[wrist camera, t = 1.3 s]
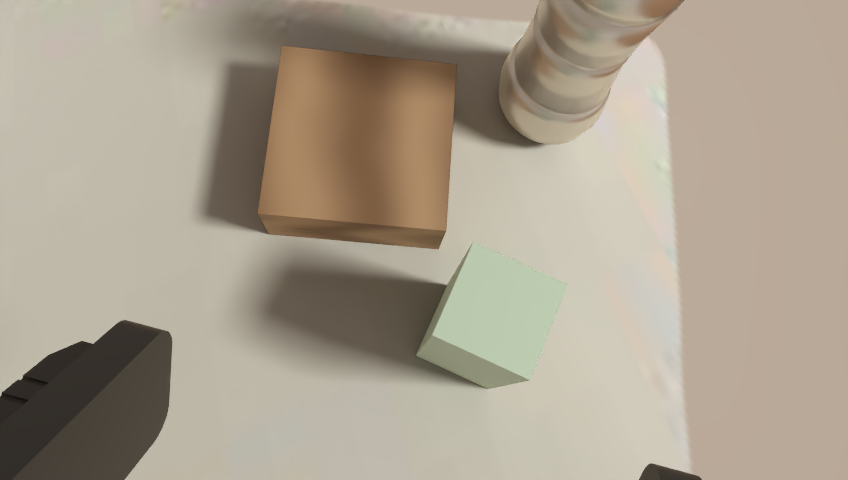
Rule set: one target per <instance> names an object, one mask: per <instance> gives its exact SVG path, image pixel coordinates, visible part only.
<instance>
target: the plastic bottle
mask: <svg viewBox="0 0 848 480" xmlns="http://www.w3.org/2000/svg"><path fill="white" fill-rule="evenodd" d="M683 1H684V0H540V1H539V4H538V7H537V11H536V14H535V16H534V18H533V19H532V21H531V23H530V25H529V27H528V28H527V30H526V32H525V34H524V35H523V37H522V38H521V39H520V40H519V41H518V43H517V44H516V45H515V46H514V48H513V49H512V51H511V52H510V54H509V55H508V57H507V59H506V60H505V62H504V64H503V66H502V70H501V73H500V83H499V100H500V105H501V108H502V111H503V113H504V115H505V117H506V119H507V120H508V122H509V123H510V124H511V125H512V126H513V128H514V129H516V130H517V131H518V132H519V133H520V134H521V135H523V136H525V137H527V138H528V139H530V140H533V141H536V142H538V143H543V144H562V143H566V142H569V141H571V140H573V139H575V138H577V137H578V136H580V135H581V134H582V133H584V132H585V131H587V130H588V129H589V128H591V127H592V126H593V125H594V123H595V122H596V121H597V120H598V119H599V117H600V115H601V113H602V111H603V109H604V106H605V104H606V102H607V100H608V96H609V93H610V89H611V86H612V84H613V83H614V81H615V79H616V77H617V75H618V73H619V71H620V69H621V68H622V66H623V64H624V63H625V62H626V60H627V59H628V58H629V57H630V56H631V54H632V53H633V52H634V51H635V50H636V48H637V47H638V46H639V45H640V44H641V42H642V41H643V40H644V39H645V38H646V37H647V36H648V35H649V34H650V33H651V32H653V31H654V30H655V29H656V28H657V27H658V26H659V25H660V24H661V23H662V22H663V21H664V20H666V19H667V18H668V17H669V16H670V15H671V14H672V13H673V12H674V11H675V10H676V9H677V8H678V7H679V6H680V5H681V4H682V3H683Z"/></svg>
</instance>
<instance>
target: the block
mask: <svg viewBox="0 0 848 480" xmlns="http://www.w3.org/2000/svg"><path fill="white" fill-rule="evenodd" d="M566 287H567V284H566V283H564V282H562V281H560V280H557V279H555V278H553V277H551V276H549V275H546V274H544V273H542V272H540V271H537V270H535V269H533V268H531V267H529V266H526V265H524V264H522V263H520V262H518V261H515V260H513V259H511V258H509V257H507V256H504V255H502V254H500V253H498V252H496V251H493V250H491V249H489V248H487V247H484V246H482V245H480V244H478V243H476V242H473V243H472V245H471V246H470V248H469V250H468V251H467V253H466V255H465V256H464V258H463V260H462V261H461V263H460V265H459V266H458V268H457V270H456V271H455V273H454V275H453V276H452V278H451V279H450V281H449V283H448V284H447V286H446V289H445V291H444V293H443V295H442V298H441V300H440V302H439V304H438V307H437V309H436V311H435V313H434V316H433V318H432V320H431V322H430V325H429V327H428V329H427V331H426V334H425V336H424V338H423V340H422V343H421V345H420V347H419V349H418V352H417V354H416V356H417V357H420V358H422V359H424V360H426V361H428V362H431V363H433V364H435V365H437V366H439V367H441V368H444V369H446V370H448V371H450V372H452V373H454V374H457V375H459V376H461V377H463V378H465V379H467V380H470V381H472V382H474V383H476V384H478V385H480V386H483V387H485V388H487V389H490V388H495V387H500V386H505V385H509V384H514V383H519V382H524V381H528V380H530V379H531V377H532V374H533V372H534V369H535V367H536V364H537V361H538V359H539V356H540V354H541V351H542V349H543V346H544V343H545V341H546V338H547V336H548V333H549V331H550V328H551V325H552V323H553V320H554V318H555V315H556V313H557V310H558V307H559V305H560V302H561V300H562V297H563V295H564V292H565V289H566Z"/></svg>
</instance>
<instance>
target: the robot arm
mask: <svg viewBox="0 0 848 480" xmlns="http://www.w3.org/2000/svg"><path fill="white" fill-rule="evenodd" d="M171 355H172V337H171V334H170V333H169V332H168V331H164V330H161V329H157V328H153V327H149V326H146V325H142V324H138V323H135V322H131V321H127V320H123V321H120V322H119V323H117V324H116V325H115V326H114V327H112V328H111V329H110V330H109V331H108V332H107V333H105V334H104V335H103V336H102V337H101V338H100V339H99V340H97V341H96V342H95V343H94V344H91V343H87V342H84V341H81V342H78V343H76V344H74V345H71V346H69V347H67V348H64V349H62V350H59V351H57V352H55V353H52V354H50V355H48V356H47V357H46V358H44V359H43V360H42V361H41V362H39V363H38V364H37V365H36V366H34V367H33V368H32V369H31V370H29V371H28V372H27V373H26V374H24V375H23V378H22V380H17V381H16V382H15V383H13V384H12V385H11V386H10V387H8V388H7V389H6V390H5V391H3V392H2V395H1V397H0V480H124V479H125V478H126V477H127V476H128V474H129V473H130V472H131V471H132V469H133V468H134V467H135V466H136V464H137V463H138V462H139V460H140V459H141V458H142V457H143V455H144V454H145V453H146V452H147V450H148V449H149V448H150V447H151V445H152V444H153V443H154V441H155V440H156V438H157V437H158V435H159V433H160V431H161V429H162V427H163V424H164V422H165V419H166V416H167V412H168V407H169V394H170V374H171ZM639 480H702V479H701V478H700V477H698V476H696V475H693V474H689V473H685V472H682V471H678V470H674V469H670V468H667V467H663V466H659V465H656V464H649V465H647V466H646V468H645V469H644V471H643V473H642V475H641V477H640V479H639Z"/></svg>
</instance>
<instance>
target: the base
mask: <svg viewBox="0 0 848 480" xmlns="http://www.w3.org/2000/svg"><path fill="white" fill-rule="evenodd" d="M456 70H457V64H449V63H439V62H430V61H421V60H411V59H402V58H392V57H383V56H374V55H364V54H355V53H346V52H336V51H327V50H318V49H308V48H299V47H290V46H282V48H281V55H280V62H279V69H278V76H277V83H276V90H275V96H274V103H273V110H272V117H271V124H270V131H269V138H268V145H267V152H266V158H265V165H264V172H263V179H262V186H261V193H260V200H259V207H258V215H259V217H260V219H261V221H262V223H263V224H264V226H265V228H266V230H267V232H268V233H269V234H275V235H286V236H298V237H309V238H320V239H331V240H342V241H353V242H365V243H376V244H387V245H398V246H409V247H421V248H432V249H439V247H440V244H441V242H442V239H443V237H444V235H445V232H446V226H447V210H448V194H449V179H450V163H451V148H452V132H453V117H454V101H455V85H456Z"/></svg>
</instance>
